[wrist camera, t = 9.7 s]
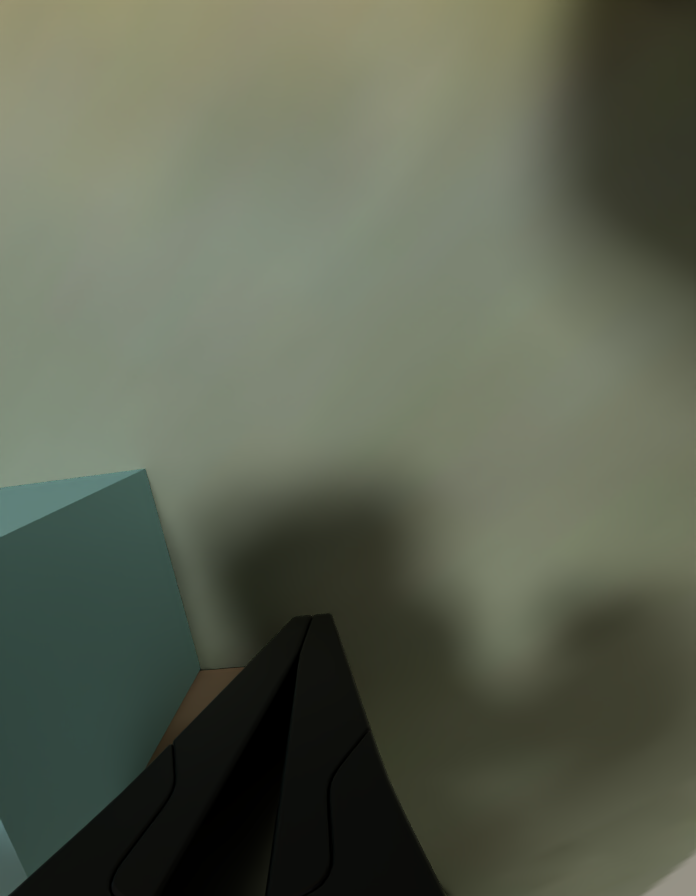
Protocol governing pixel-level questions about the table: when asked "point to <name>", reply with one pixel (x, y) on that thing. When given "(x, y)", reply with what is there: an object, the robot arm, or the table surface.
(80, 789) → the teal block
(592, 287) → the table surface
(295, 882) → the robot arm
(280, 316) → the table surface
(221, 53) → the table surface
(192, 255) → the table surface
